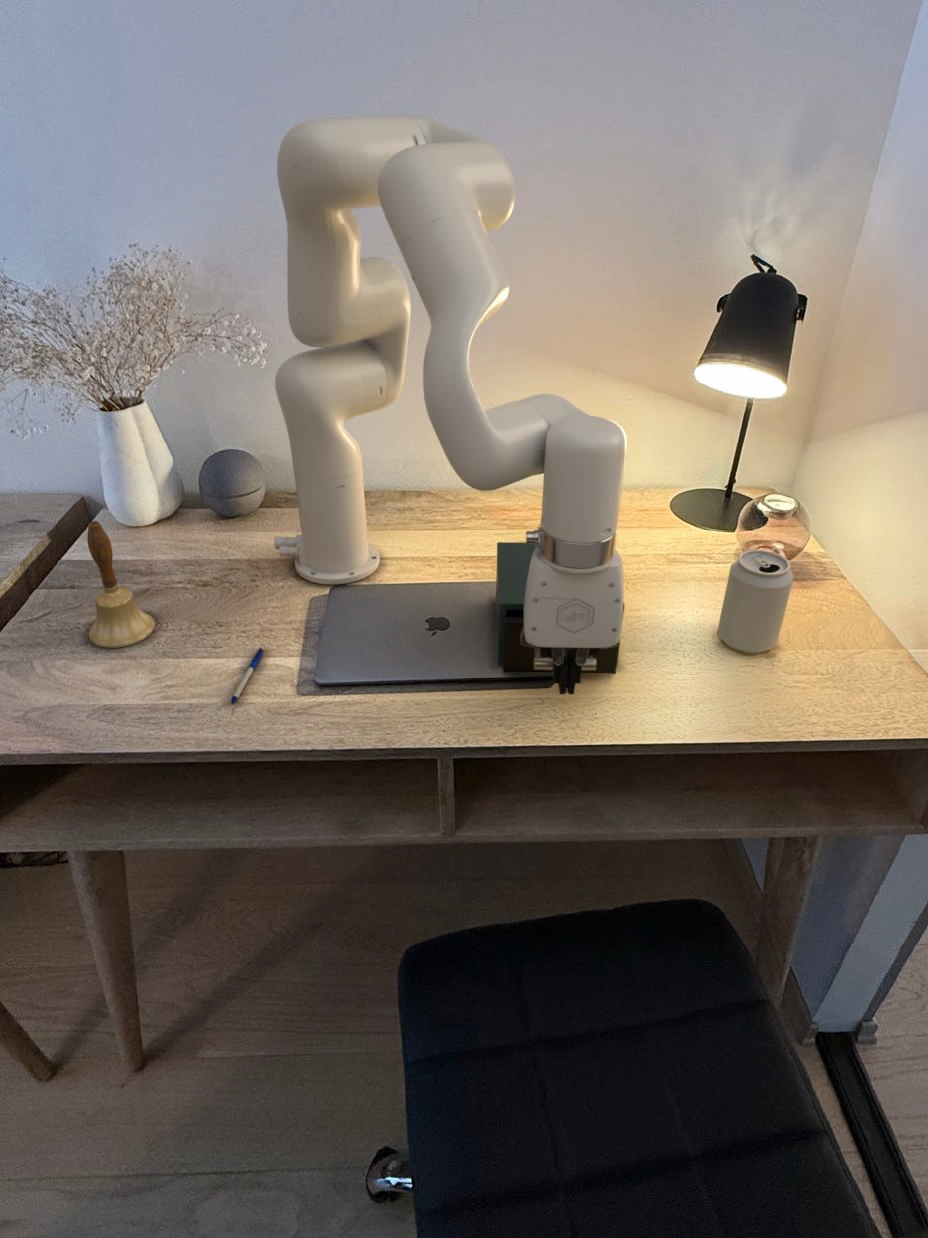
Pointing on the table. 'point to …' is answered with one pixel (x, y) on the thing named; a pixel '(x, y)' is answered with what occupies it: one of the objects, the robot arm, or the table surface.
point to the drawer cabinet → (511, 584)
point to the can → (755, 601)
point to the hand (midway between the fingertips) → (565, 686)
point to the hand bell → (114, 601)
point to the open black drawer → (536, 660)
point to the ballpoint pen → (247, 675)
